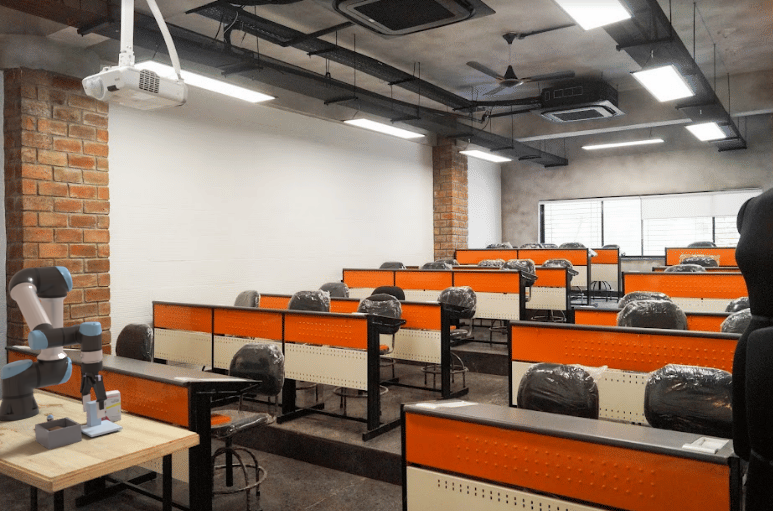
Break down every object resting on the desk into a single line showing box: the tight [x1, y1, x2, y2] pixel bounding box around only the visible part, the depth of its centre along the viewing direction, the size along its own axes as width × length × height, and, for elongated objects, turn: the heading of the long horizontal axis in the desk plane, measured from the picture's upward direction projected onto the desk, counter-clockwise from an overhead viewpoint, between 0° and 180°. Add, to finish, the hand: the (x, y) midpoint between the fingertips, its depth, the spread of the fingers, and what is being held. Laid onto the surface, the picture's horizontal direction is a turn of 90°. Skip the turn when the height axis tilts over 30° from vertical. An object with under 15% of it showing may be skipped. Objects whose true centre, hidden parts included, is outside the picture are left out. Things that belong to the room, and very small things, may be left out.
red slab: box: [42, 414, 55, 423], centre depth 228 cm, size 8×7×6 cm
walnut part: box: [47, 426, 62, 431], centre depth 214 cm, size 4×4×4 cm
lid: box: [81, 399, 123, 438], centre depth 223 cm, size 15×12×11 cm
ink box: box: [101, 389, 122, 423], centre depth 238 cm, size 9×5×12 cm, turn 127°
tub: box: [34, 416, 83, 450], centre depth 212 cm, size 14×11×7 cm
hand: (93, 414), depth 226 cm, fingers open, 13 cm apart
